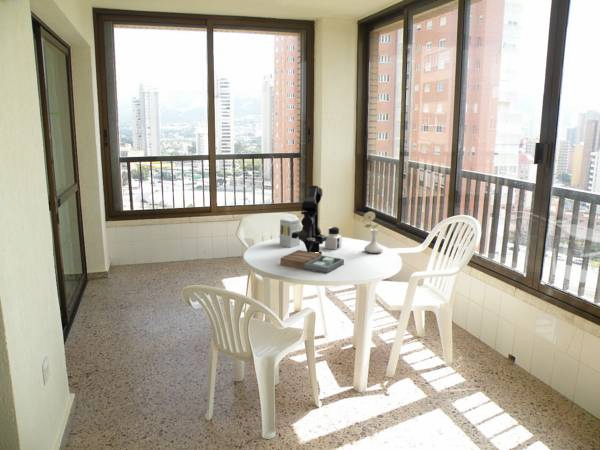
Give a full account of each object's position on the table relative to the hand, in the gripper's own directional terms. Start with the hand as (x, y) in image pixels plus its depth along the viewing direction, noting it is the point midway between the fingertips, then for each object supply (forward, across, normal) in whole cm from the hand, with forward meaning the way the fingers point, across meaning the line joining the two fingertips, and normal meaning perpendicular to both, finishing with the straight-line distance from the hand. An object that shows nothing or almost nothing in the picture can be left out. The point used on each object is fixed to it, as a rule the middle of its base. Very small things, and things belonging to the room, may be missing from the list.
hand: (308, 252), depth 283 cm
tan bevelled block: (+8, -8, +6) cm, 13 cm away
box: (+8, +7, +6) cm, 12 cm away
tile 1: (+5, +6, +1) cm, 8 cm away
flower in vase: (+9, +17, +50) cm, 53 cm away
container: (+9, -7, +45) cm, 46 cm away
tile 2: (+5, +6, +11) cm, 14 cm away
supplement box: (+9, -33, +36) cm, 49 cm away
